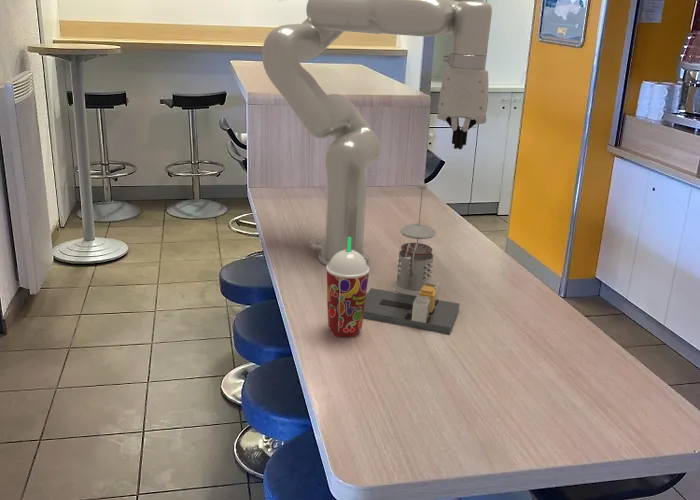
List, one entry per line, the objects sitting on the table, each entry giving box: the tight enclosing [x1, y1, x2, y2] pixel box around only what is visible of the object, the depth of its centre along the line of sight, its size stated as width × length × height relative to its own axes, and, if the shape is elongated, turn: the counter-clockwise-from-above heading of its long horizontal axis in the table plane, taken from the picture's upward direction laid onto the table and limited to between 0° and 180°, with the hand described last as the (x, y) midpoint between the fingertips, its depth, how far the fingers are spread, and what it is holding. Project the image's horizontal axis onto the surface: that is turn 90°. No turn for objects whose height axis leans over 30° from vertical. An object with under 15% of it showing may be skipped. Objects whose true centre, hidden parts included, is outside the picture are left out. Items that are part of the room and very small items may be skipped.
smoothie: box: [325, 237, 370, 338], centre depth 132 cm, size 8×8×20 cm
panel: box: [363, 278, 461, 335], centre depth 143 cm, size 20×12×6 cm, turn 73°
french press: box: [391, 182, 437, 296], centre depth 152 cm, size 10×12×25 cm
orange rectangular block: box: [419, 286, 436, 313], centre depth 142 cm, size 3×3×5 cm
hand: (458, 147), depth 150 cm, fingers closed
